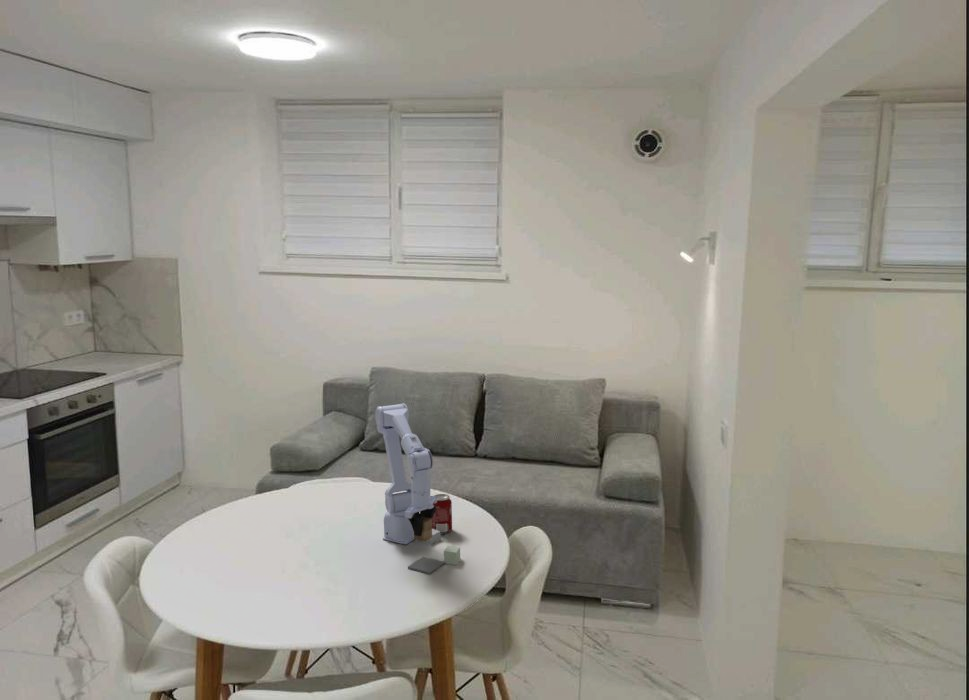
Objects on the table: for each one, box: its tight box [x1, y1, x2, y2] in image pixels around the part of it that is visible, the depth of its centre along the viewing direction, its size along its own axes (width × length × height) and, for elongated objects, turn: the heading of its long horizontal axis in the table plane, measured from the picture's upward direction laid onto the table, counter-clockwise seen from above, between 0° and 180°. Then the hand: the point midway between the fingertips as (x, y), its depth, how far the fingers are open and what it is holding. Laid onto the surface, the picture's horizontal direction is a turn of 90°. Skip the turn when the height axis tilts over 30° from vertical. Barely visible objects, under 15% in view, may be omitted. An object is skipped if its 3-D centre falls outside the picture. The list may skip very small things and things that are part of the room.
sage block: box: [443, 545, 461, 566], centre depth 226 cm, size 4×4×4 cm
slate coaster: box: [407, 556, 445, 575], centre depth 223 cm, size 8×8×1 cm
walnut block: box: [414, 517, 432, 543], centre depth 226 cm, size 4×4×6 cm
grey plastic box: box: [417, 529, 442, 545], centre depth 242 cm, size 6×5×3 cm
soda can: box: [432, 493, 453, 535], centre depth 247 cm, size 7×7×12 cm
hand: (422, 532), depth 227 cm, fingers closed on walnut block, 4 cm apart
